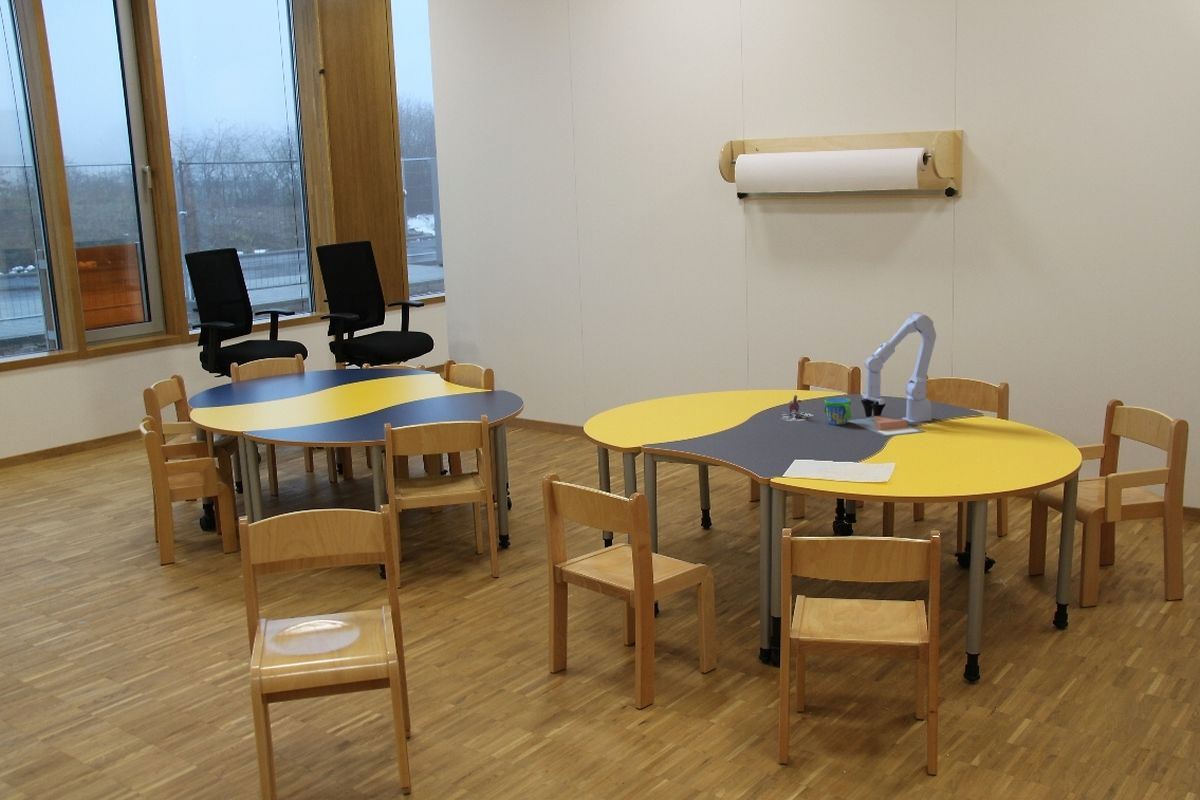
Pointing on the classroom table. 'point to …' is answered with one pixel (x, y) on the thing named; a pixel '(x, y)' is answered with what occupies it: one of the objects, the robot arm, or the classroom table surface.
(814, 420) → the classroom table surface
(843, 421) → the snack cup
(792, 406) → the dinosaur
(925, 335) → the robot arm
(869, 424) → the t board
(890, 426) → the t block
